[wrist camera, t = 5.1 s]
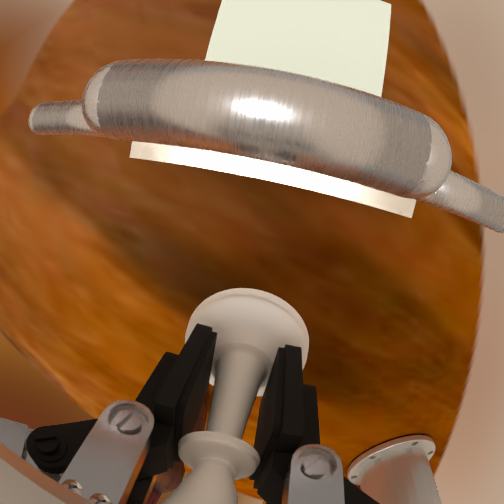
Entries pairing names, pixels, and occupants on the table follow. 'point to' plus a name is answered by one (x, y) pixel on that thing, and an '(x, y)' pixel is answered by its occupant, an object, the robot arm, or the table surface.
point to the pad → (307, 38)
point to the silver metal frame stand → (274, 133)
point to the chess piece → (234, 388)
